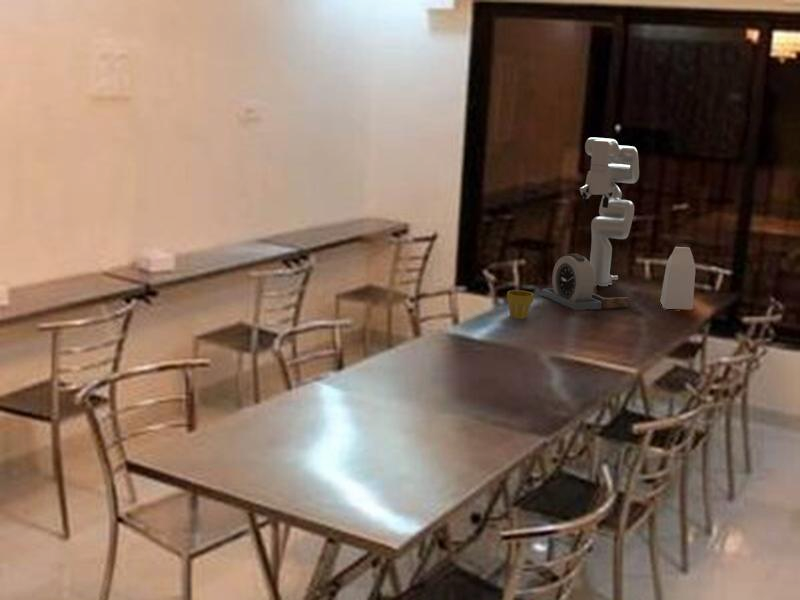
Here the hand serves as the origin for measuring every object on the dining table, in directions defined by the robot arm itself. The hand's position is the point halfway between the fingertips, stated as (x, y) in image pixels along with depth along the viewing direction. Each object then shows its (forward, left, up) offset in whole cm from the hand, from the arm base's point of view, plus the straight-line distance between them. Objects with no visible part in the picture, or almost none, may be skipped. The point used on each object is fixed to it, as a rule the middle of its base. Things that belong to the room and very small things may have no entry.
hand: (595, 207), depth 467 cm
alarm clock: (+18, +15, -38) cm, 44 cm away
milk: (-24, +32, -39) cm, 56 cm away
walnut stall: (+4, +15, -38) cm, 41 cm away
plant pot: (+54, +34, -38) cm, 75 cm away
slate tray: (+18, +15, -38) cm, 45 cm away
